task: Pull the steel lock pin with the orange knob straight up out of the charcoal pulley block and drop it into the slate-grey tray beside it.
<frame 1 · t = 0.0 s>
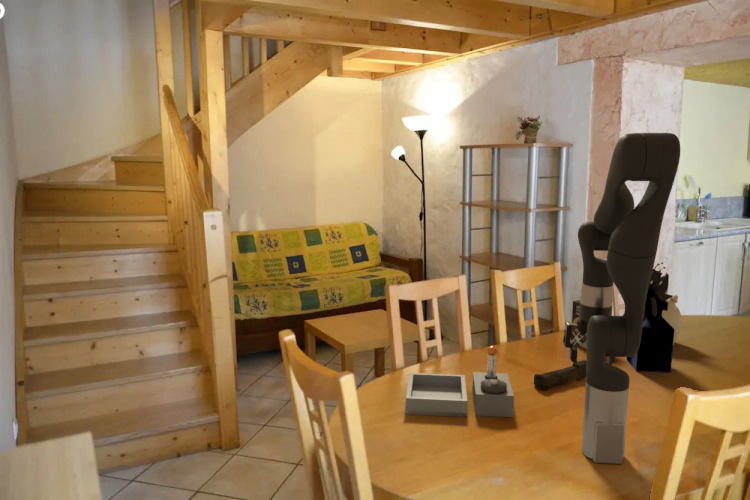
hand: (591, 363, 144), 17 cm above the table, tool pointing down, fingers open, 8 cm apart
coffee box: (585, 345, 211), on the table
lock pin: (490, 391, 165), point 2 cm above the table, touching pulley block
jug: (656, 343, 214), on the table
hand tool: (563, 382, 177), on the table
vase: (646, 366, 190), on the table
tray: (436, 400, 163), on the table
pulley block: (491, 403, 161), on the table
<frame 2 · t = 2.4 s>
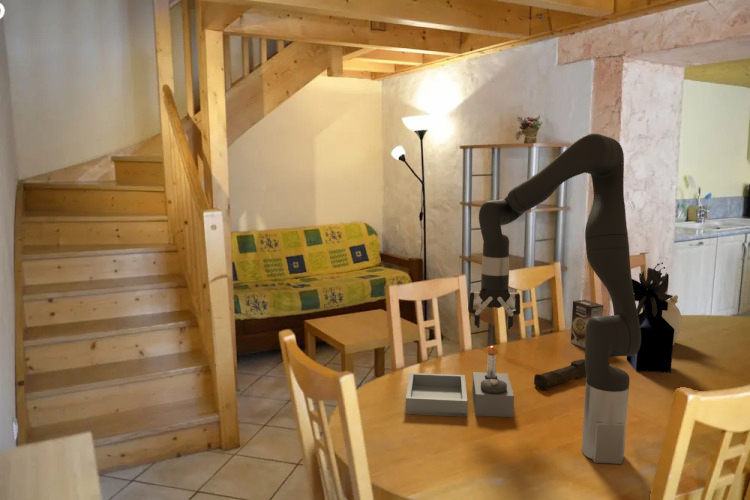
hand: (493, 327, 162), 21 cm above the table, tool pointing down, fingers open, 8 cm apart
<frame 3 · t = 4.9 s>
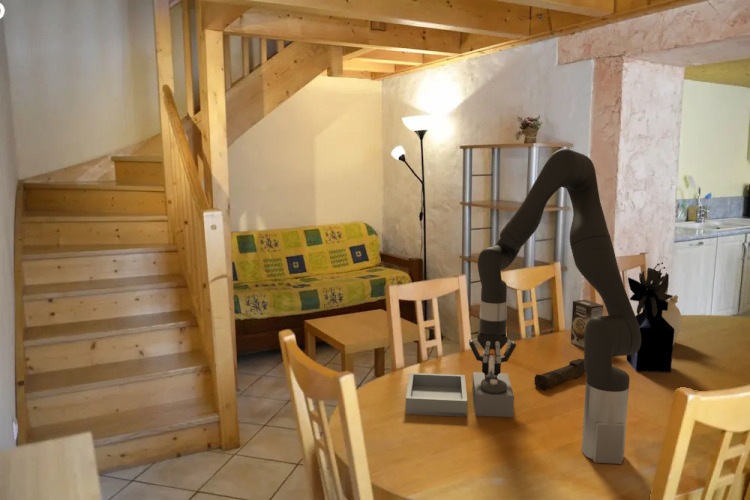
hand: (491, 374, 164), 7 cm above the table, tool pointing down, fingers closed on lock pin, 2 cm apart
lock pin: (490, 391, 165), point 2 cm above the table, touching gripper, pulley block
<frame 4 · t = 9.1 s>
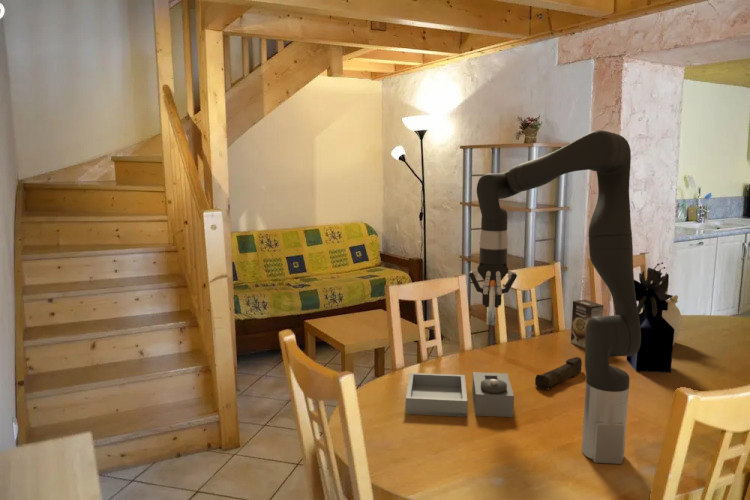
hand: (491, 306, 161), 27 cm above the table, tool pointing down, fingers closed on lock pin, 2 cm apart
lock pin: (491, 324, 162), point 22 cm above the table, touching gripper
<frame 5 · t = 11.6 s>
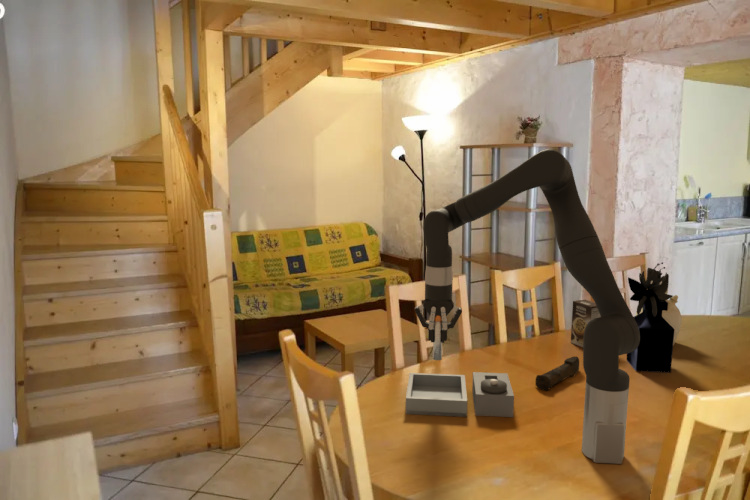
hand: (437, 341, 160), 18 cm above the table, tool pointing down, fingers closed on lock pin, 2 cm apart
lock pin: (437, 358, 161), point 13 cm above the table, touching gripper
when the fingers open (9 cm above the table, at t = 13.6 s): lock pin drops 3 cm, resting on tray.
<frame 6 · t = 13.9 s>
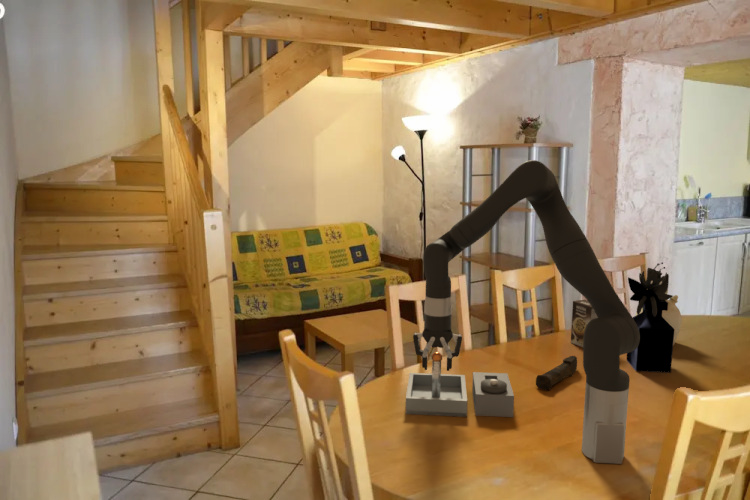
hand: (437, 369, 162), 10 cm above the table, tool pointing down, fingers open, 5 cm apart
lock pin: (435, 397, 163), point 1 cm above the table, touching tray
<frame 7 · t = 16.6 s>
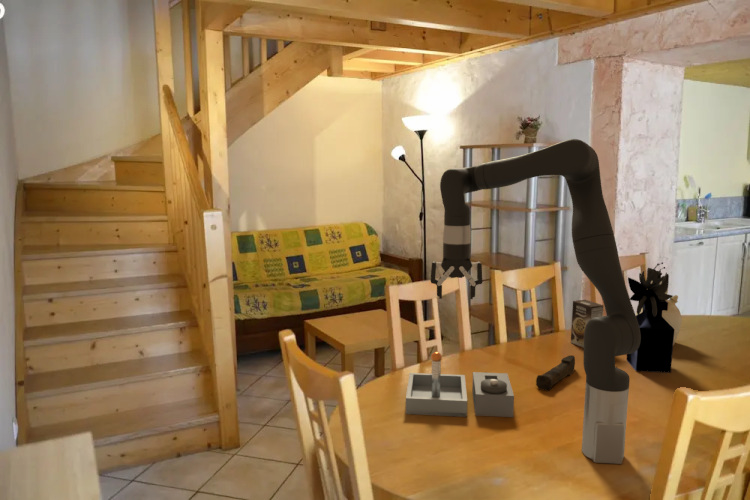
hand: (455, 298, 160), 30 cm above the table, tool pointing down, fingers open, 8 cm apart
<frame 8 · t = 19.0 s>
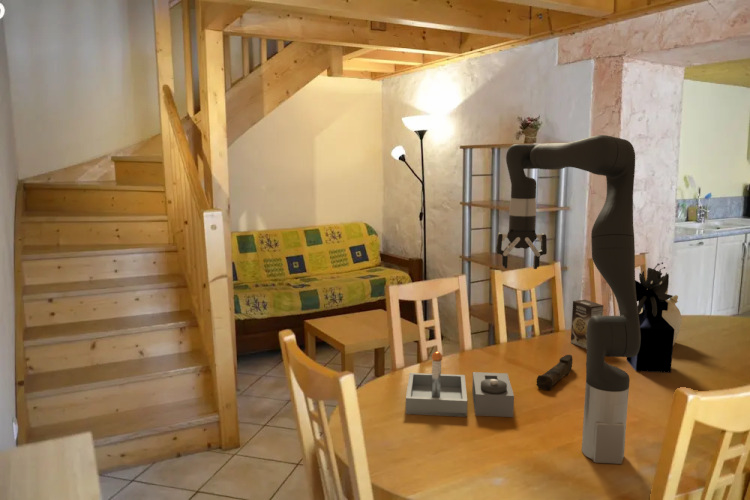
hand: (520, 268, 169), 36 cm above the table, tool pointing down, fingers open, 8 cm apart
at the end: lock pin inside the target area on the tray (0.2 cm from its centre), point 1.0 cm above the tray's base; the gripper is holding nothing; lock pin moved 16.2 cm from its start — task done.
